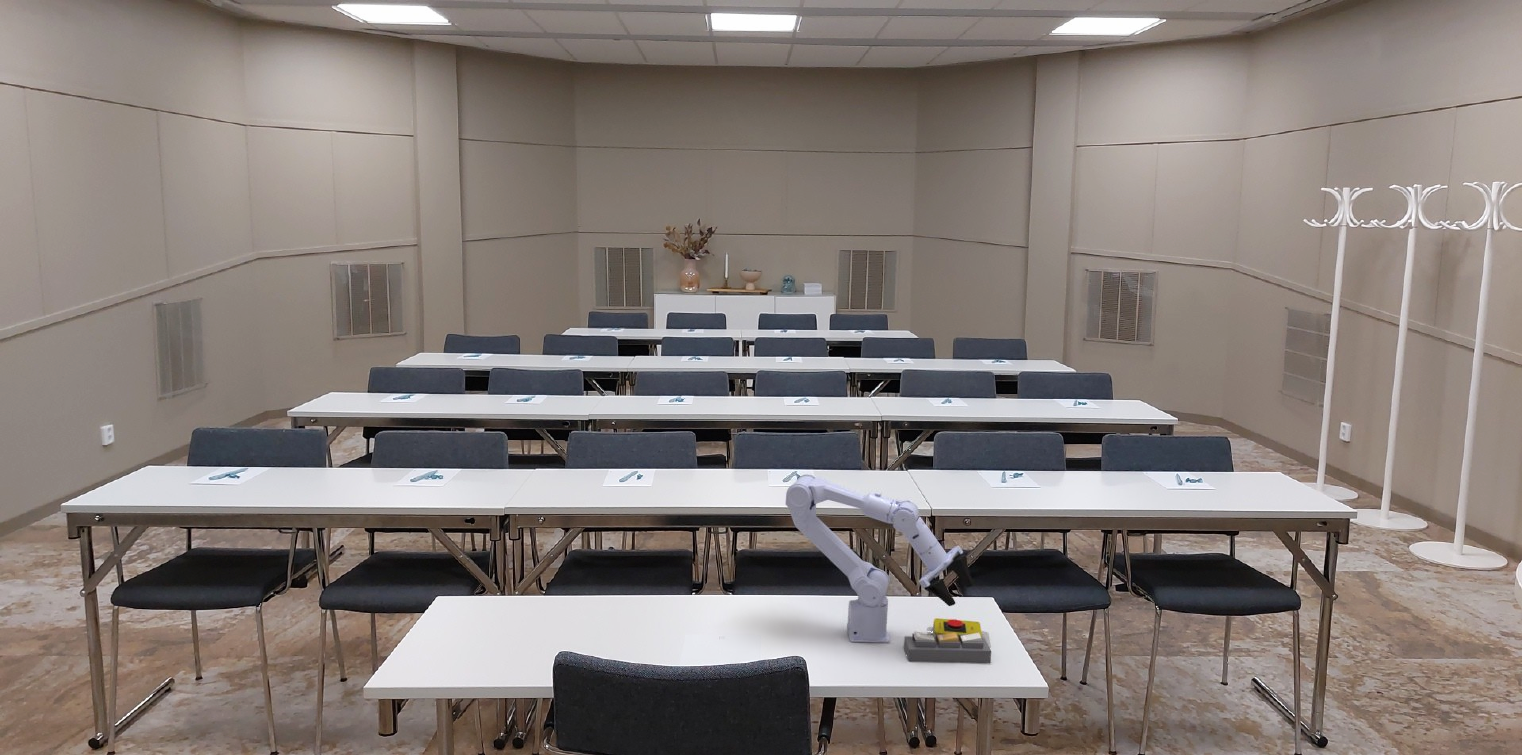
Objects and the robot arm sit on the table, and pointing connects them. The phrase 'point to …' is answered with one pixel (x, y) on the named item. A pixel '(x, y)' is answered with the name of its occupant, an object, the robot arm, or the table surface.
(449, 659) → the table surface
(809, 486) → the robot arm
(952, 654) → the switch strip
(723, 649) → the table surface
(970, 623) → the emergency button
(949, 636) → the rocker amber
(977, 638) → the rocker right
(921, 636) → the rocker left
